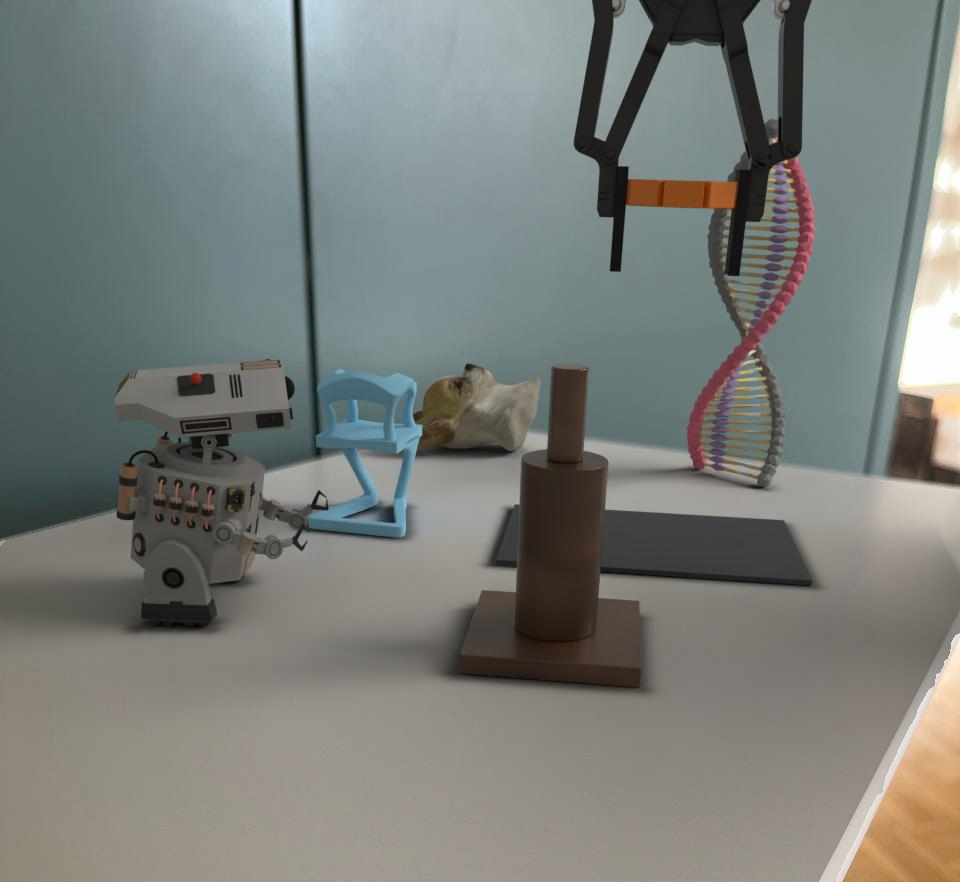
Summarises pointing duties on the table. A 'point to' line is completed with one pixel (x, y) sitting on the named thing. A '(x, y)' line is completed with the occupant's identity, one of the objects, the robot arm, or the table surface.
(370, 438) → the chair
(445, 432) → the toy dog
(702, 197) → the orange ring
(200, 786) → the table surface
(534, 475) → the ring stand
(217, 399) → the figurine
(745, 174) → the robot arm
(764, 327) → the dna model
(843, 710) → the table surface
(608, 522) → the rubber mat
